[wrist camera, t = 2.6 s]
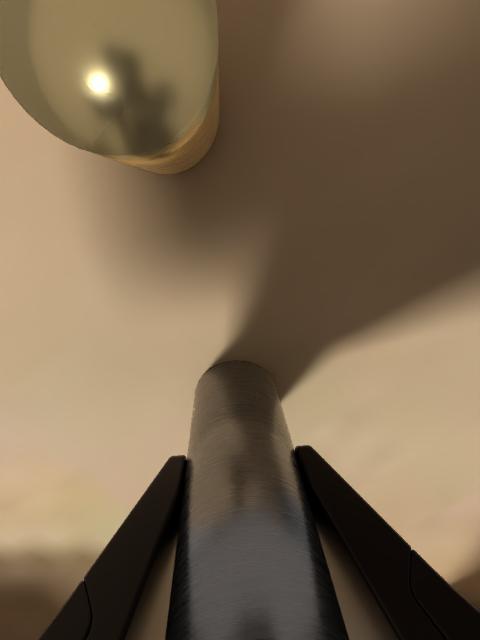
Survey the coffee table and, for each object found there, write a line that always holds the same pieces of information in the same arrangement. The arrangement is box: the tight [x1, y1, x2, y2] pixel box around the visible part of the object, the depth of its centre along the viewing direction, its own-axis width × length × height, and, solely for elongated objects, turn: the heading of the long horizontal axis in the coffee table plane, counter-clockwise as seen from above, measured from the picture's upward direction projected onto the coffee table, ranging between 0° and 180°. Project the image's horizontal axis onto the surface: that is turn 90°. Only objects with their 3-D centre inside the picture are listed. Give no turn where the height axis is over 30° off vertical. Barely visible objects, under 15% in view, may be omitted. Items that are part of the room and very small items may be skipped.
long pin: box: [165, 361, 349, 640], centre depth 7 cm, size 3×3×9 cm
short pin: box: [0, 0, 219, 174], centre depth 6 cm, size 3×3×4 cm
